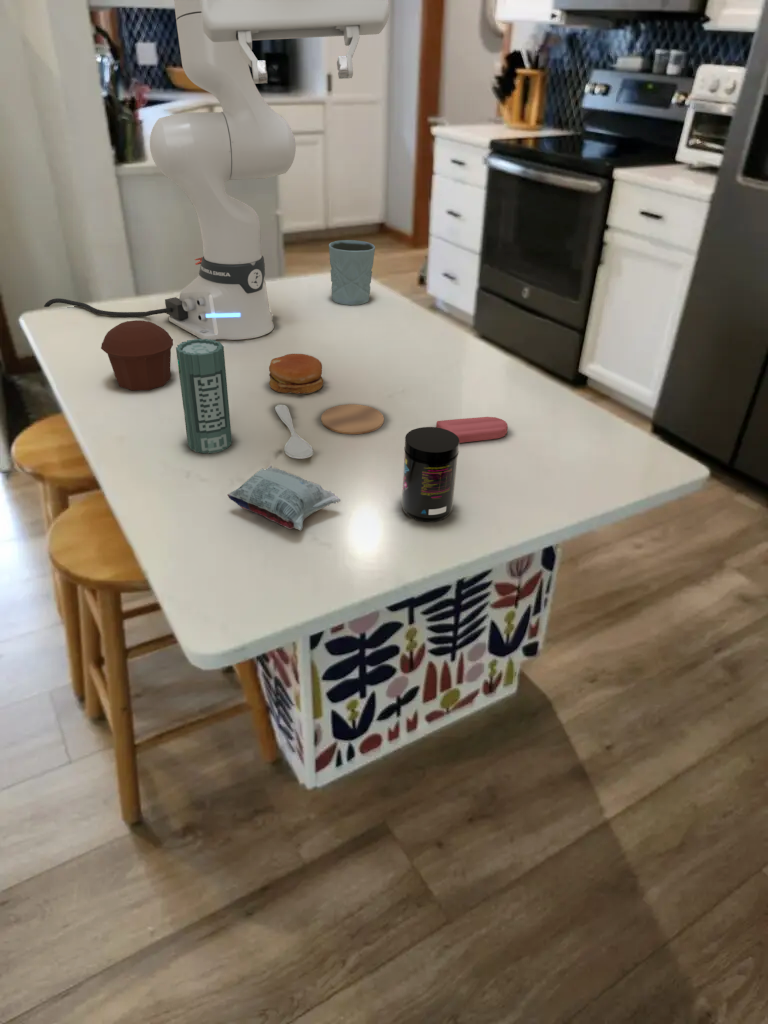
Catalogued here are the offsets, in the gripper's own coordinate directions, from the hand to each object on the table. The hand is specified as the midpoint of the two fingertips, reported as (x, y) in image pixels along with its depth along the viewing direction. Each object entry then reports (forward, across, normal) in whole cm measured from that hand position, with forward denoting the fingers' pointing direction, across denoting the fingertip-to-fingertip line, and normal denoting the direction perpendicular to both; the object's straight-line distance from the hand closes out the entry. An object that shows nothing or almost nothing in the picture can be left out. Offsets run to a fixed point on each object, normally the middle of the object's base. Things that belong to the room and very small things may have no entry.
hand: (303, 79), depth 82 cm
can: (+41, +18, -24) cm, 50 cm away
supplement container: (+51, -10, -4) cm, 52 cm away
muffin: (+30, +29, -46) cm, 62 cm away
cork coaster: (+40, -4, -29) cm, 49 cm away
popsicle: (+44, -20, -22) cm, 53 cm away
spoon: (+41, +6, -25) cm, 48 cm away
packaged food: (+49, +9, -6) cm, 50 cm away
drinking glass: (+18, -14, -85) cm, 88 cm away
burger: (+34, +3, -42) cm, 54 cm away
